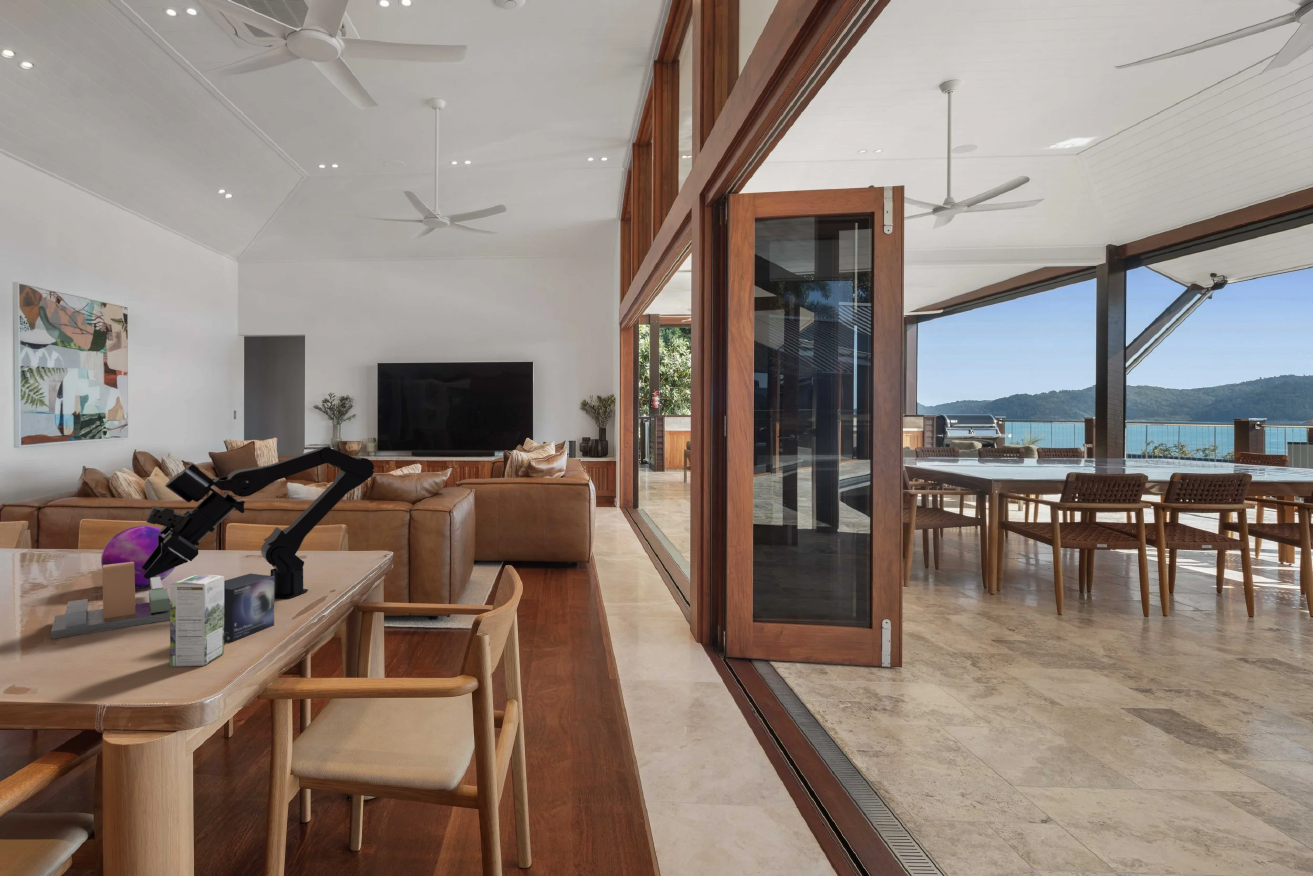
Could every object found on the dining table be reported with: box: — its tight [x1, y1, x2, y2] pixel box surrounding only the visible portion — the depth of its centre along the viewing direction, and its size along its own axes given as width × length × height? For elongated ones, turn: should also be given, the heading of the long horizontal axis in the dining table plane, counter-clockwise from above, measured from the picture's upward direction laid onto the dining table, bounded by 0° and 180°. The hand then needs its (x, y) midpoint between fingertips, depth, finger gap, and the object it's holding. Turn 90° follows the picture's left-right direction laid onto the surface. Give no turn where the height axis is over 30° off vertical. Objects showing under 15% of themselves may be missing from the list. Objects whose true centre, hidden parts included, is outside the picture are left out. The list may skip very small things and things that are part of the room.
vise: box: [50, 598, 170, 640], centre depth 132 cm, size 22×12×4 cm, turn 131°
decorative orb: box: [100, 525, 176, 589], centre depth 157 cm, size 15×15×15 cm
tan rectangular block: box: [101, 562, 136, 619], centre depth 131 cm, size 5×5×10 cm
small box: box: [224, 572, 275, 643], centre depth 125 cm, size 11×6×10 cm, turn 168°
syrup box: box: [169, 574, 225, 667], centre depth 110 cm, size 6×6×14 cm
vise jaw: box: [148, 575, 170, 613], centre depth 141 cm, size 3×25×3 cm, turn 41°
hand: (144, 573), depth 134 cm, fingers open, 9 cm apart
